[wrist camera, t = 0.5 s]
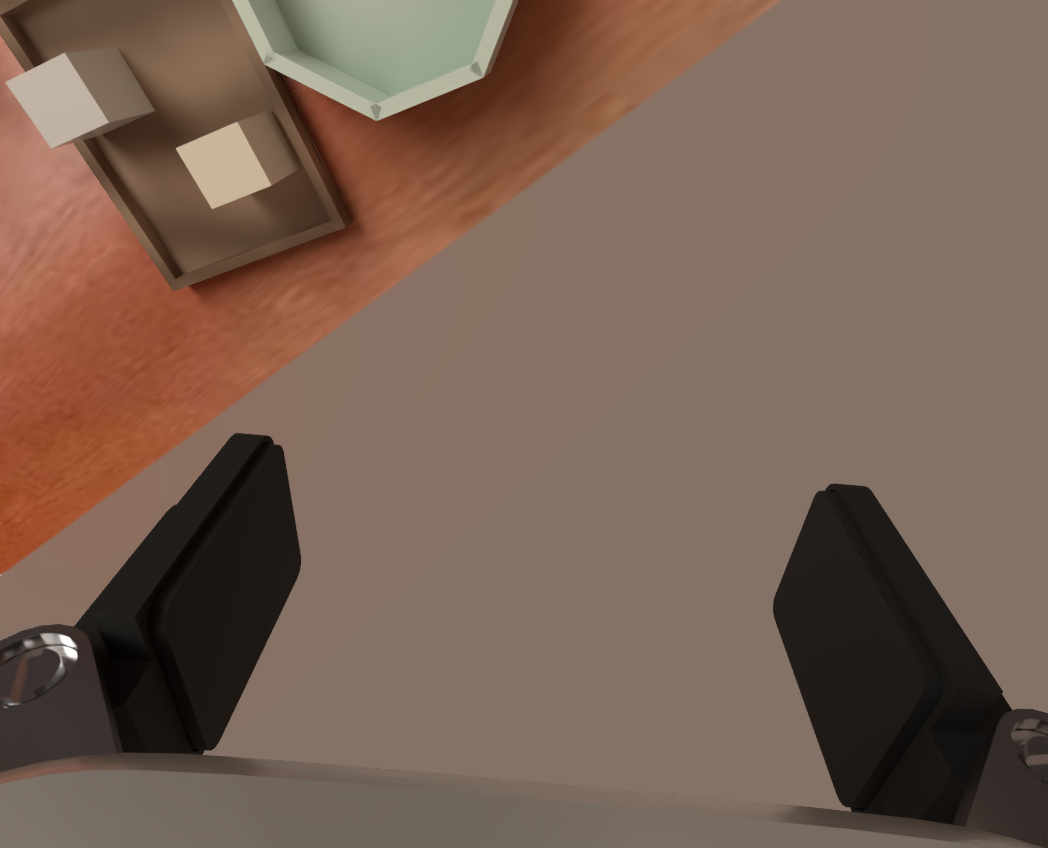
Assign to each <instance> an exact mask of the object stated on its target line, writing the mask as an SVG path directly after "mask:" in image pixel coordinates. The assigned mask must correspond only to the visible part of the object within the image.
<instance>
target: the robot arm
mask: <svg viewBox="0 0 1048 848" xmlns="http://www.w3.org/2000/svg"><path fill="white" fill-rule="evenodd" d="M300 566H301V555H300V548H299V542H298V536H297V530H296V524H295V517H294V511H293V506H292V499H291V493H290V487H289V481H288V476H287V469H286V463H285V457H284V452H283V449H282V447H281V446H280V445H274V442H273V440H272V438H271V437H269V436H265V435H252V434H241V433H236V434H234V435H233V436H231V438H230V439H229V440H228V441H227V442H226V444H225V445H224V446H223V447H222V449H221V450H220V451H219V452H218V454H217V455H216V456H215V458H214V459H213V460H212V461H211V462H210V464H209V465H208V466H207V467H206V469H205V470H204V471H203V473H202V474H201V475H200V476H199V477H198V479H197V480H196V481H195V482H194V484H193V485H192V486H191V488H190V489H189V490H188V491H187V492H186V494H185V495H184V496H183V497H182V499H181V500H180V501H179V503H178V504H177V505H174V506H173V507H171V508H170V509H169V510H168V511H167V512H166V513H165V515H164V516H163V517H162V518H161V520H160V521H159V522H158V523H157V524H156V526H155V527H154V528H153V529H152V531H151V532H150V533H149V534H148V536H147V537H146V538H145V539H144V541H143V542H142V543H141V544H140V546H139V547H138V548H137V549H136V550H135V552H134V553H133V554H132V556H131V557H130V558H129V559H128V560H127V562H126V563H125V564H124V566H123V567H122V568H121V569H120V570H119V572H118V573H117V574H116V575H115V576H114V578H113V579H112V580H111V581H110V583H109V584H108V585H107V586H106V588H105V589H104V590H103V591H102V593H101V594H100V595H99V596H98V598H97V599H96V600H95V601H94V603H93V604H92V605H91V606H90V607H89V609H88V610H87V611H86V612H85V614H84V615H83V616H82V617H81V619H80V620H79V621H78V622H77V624H76V625H75V626H68V625H62V624H55V625H42V626H38V627H34V628H31V629H27V630H23V631H20V632H18V633H16V634H14V635H12V636H9V637H8V638H5V639H3V640H1V641H0V848H1048V713H1045V712H1042V711H1038V710H1034V709H1015V710H1012V709H1011V708H1010V706H1009V704H1008V703H1007V701H1006V700H1005V698H1004V697H1003V695H1002V693H1003V691H1002V689H1001V688H1000V687H999V685H998V683H997V682H996V680H995V679H994V677H993V676H992V674H991V673H990V671H989V670H988V668H987V667H986V665H985V663H984V662H983V660H982V659H981V657H980V656H979V654H978V653H977V651H976V650H975V648H974V647H973V645H972V644H971V642H970V641H969V639H968V637H966V634H965V633H964V631H963V630H962V628H961V627H960V625H959V624H958V622H957V621H956V619H955V618H954V616H953V615H952V613H951V612H950V610H949V609H948V607H947V605H946V604H945V602H944V601H943V599H942V598H941V596H940V595H939V593H938V592H937V590H936V589H935V587H934V586H933V584H932V583H931V581H930V579H929V578H928V577H927V575H926V573H925V572H924V570H923V569H922V567H921V566H920V564H919V563H918V561H917V560H916V558H915V557H914V555H913V554H912V552H911V550H910V549H909V547H908V546H907V544H906V543H905V542H904V540H903V538H902V537H901V535H900V534H899V532H898V531H897V529H896V528H895V526H894V525H893V523H892V521H891V520H890V518H889V517H888V516H887V514H886V512H885V511H884V509H883V508H882V506H881V505H880V503H879V502H878V500H877V499H876V497H875V496H874V494H873V493H872V491H871V490H870V489H869V488H868V487H865V486H856V485H844V484H830V485H829V486H828V487H827V488H826V490H825V491H819V492H817V493H816V495H815V497H814V499H813V501H812V504H811V507H810V509H809V511H808V514H807V516H806V519H805V521H804V524H803V527H802V529H801V532H800V534H799V537H798V539H797V542H796V544H795V547H794V549H793V552H792V554H791V557H790V559H789V562H788V564H787V567H786V570H785V572H784V574H783V577H782V579H781V582H780V585H779V587H778V590H777V592H776V595H775V598H774V603H773V613H774V618H775V621H776V624H777V627H778V630H779V633H780V635H781V638H782V641H783V644H784V647H785V649H786V652H787V655H788V658H789V661H790V664H791V667H792V669H793V672H794V675H795V678H796V681H797V683H798V686H799V689H800V692H801V695H802V698H803V700H804V703H805V706H806V709H807V712H808V714H809V717H810V720H811V723H812V726H813V729H814V732H815V734H816V737H817V740H818V743H819V745H820V749H821V751H822V754H823V757H824V760H825V763H826V766H827V768H828V771H829V774H830V777H831V780H832V782H833V785H834V788H835V791H836V794H837V796H838V798H839V800H840V802H841V803H842V805H844V806H845V807H850V808H851V811H852V812H849V811H840V810H831V809H822V808H813V807H803V806H793V805H781V804H772V803H761V802H750V801H739V800H729V799H719V798H707V797H697V796H686V795H676V794H666V793H655V792H644V791H633V790H622V789H610V788H600V787H588V786H577V785H565V784H555V783H544V782H533V781H521V780H509V779H498V778H486V777H476V776H464V775H452V774H441V773H429V772H417V771H405V770H393V769H381V768H369V767H357V766H345V765H333V764H321V763H309V762H296V761H284V760H269V759H255V758H240V757H238V758H237V757H225V756H209V755H203V753H204V751H205V750H212V749H214V748H215V747H216V746H217V744H218V742H219V741H220V739H221V737H222V735H223V733H224V731H225V728H226V726H227V724H228V722H229V720H230V718H231V716H232V713H233V712H234V710H235V707H236V705H237V703H238V701H239V699H240V697H241V695H242V693H243V691H244V689H245V687H246V684H247V682H248V680H249V678H250V676H251V674H252V672H253V670H254V667H255V666H256V663H257V661H258V659H259V657H260V655H261V653H262V651H263V649H264V647H265V645H266V642H267V640H268V638H269V636H270V634H271V632H272V630H273V628H274V626H275V624H276V622H277V619H278V617H279V615H280V613H281V611H282V609H283V607H284V605H285V603H286V600H287V598H288V596H289V594H290V592H291V590H292V588H293V586H294V584H295V582H296V580H297V577H298V575H299V571H300Z"/></svg>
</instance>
